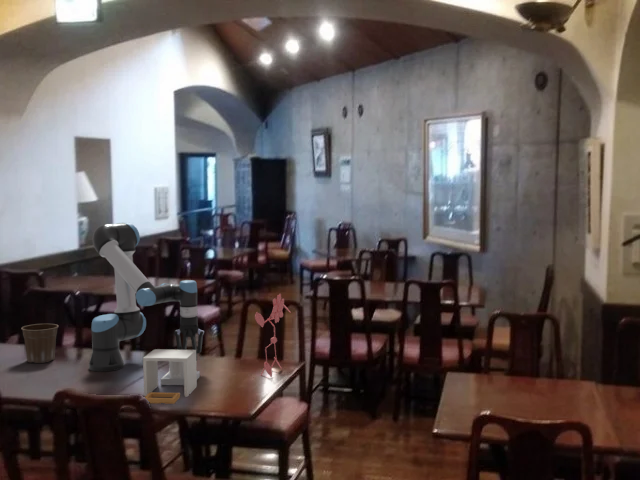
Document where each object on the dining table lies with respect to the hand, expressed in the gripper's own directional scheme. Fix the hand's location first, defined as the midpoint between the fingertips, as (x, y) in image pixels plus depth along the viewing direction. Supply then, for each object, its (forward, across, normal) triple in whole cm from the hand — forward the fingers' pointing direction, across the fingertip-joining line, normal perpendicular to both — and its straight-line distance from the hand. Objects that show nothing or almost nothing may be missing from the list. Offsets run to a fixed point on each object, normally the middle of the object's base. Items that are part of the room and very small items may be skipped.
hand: (190, 368), depth 313 cm
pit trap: (+2, 0, -41) cm, 41 cm away
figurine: (+2, +40, -1) cm, 40 cm away
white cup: (+2, 0, -17) cm, 17 cm away
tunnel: (+2, 0, -29) cm, 29 cm away
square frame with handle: (+1, 0, -10) cm, 10 cm away
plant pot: (+2, -76, +16) cm, 78 cm away
